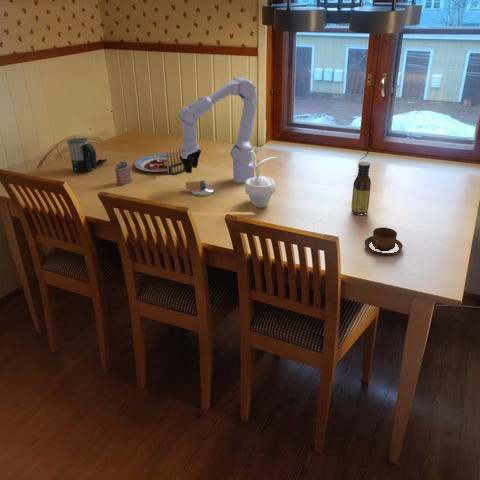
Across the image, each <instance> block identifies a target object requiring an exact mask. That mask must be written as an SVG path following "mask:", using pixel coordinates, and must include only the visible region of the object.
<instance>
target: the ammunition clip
mask: <svg viewBox="0 0 480 480" xmlns="http://www.w3.org/2000/svg"><path fill="white" fill-rule="evenodd" d="M181 148H182V147H180V146H179V148H177V147H176V149H175V148H174V149H173V150H172V149H170V151H169V150H167V151H166V154H167V171H166V176H177V175H180V174H182V173H186V170H185V167H184V165H183V163H182V161H181V160H180V156H181V155H182V153H183V150H181ZM169 154H170V155H169ZM172 154H173V155H172Z"/></svg>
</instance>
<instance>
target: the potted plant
mask: <svg viewBox="0 0 480 480" xmlns="http://www.w3.org/2000/svg"><path fill="white" fill-rule="evenodd" d="M249 152H250V153H251V154H252V160H251V162H252V163H253V165H254V172H255V174H256V175H255V177H253V178H249V179H247V180H246V181H245V183H244V191H245V194H246V195H248V197H249V201H250V203H251V205H253V206H255V208H257V209H262V208H267V206H268V205H269V203H270V201H271V198H272V196H273V194H274V193H275V192H276V181H275V179H272V178H270V177H266V176H264V175H263V176H260V169H259V167H261V166H262V165H264V164H266V163H267V162H269V161H272V160H275V159H279V157H278V156H277V157H276V156H273V157H268V158H264V159H263V160H261V161H259V160H257V154H258V153H259V151H258V150H257V147H255V148H254V150H251V151H249Z"/></svg>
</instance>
